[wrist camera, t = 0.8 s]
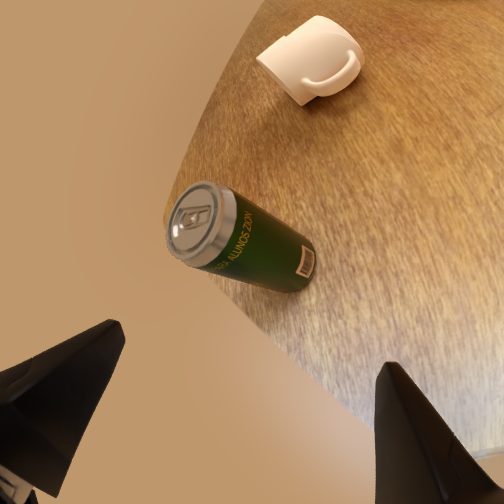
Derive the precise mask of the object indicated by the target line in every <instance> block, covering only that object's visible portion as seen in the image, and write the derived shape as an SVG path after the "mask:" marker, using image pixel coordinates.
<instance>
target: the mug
mask: <svg viewBox="0 0 504 504" xmlns="http://www.w3.org/2000/svg"><path fill="white" fill-rule="evenodd" d="M256 60H257V62H258V63H259V64H260V65H261V66H262V67H263V69H264V70H265V71H266V72H267V73H268V74H269V75H270V76H271V77H272V78H273V79H274V80H275V81H276V82H277V83H278V84H279V85H280V86H281V87H282V88H283V89H284V90H285V91H286V92H287V93H288V94H289V95H290V96H291V97H292V98H293V99H294V100H295V101H296V102H297V103H298V104H299V105H300V106H303V105H305V104H306V103H308V102H309V101H310V100H312V99H313V98H315V97H316V96H330V95H333V94H335V93H337V92H339V91H341V90H342V89H344V88H345V87H347V86H348V85H349V84H350V83H351V82H352V81H353V80H354V79H355V78H356V77H357V75H358V74H359V71H360V68H362V66H363V65H364V62H365V56H364V54H363V51H362V50H361V48H360V46H359V45H358V43H357V42H356V41H355V40H354V38H353V37H352V36H351V35H350V34H349V33H348V32H347V31H345V30H344V29H343V28H342V27H341V26H339V25H338V24H336V23H335V22H333V21H332V20H330V19H328V18H325V17H322V16H314V17H313V18H311V19H310V20H309V21H307V22H306V23H304V24H303V25H302V26H300V27H299V28H297V29H296V30H295V31H293V32H292V33H291V34H289V35H288V36H287V37H285V36H283V37H281V38H280V39H279V40H278V41H276V42H275V43H274V44H273V45H271V46H270V47H269V48H268V49H266V50H265V51H264V52H263V53H262V54H260V55H259V56H258V57H257V58H256Z"/></svg>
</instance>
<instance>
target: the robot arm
mask: <svg viewBox="0 0 504 504" xmlns="http://www.w3.org/2000/svg"><path fill="white" fill-rule="evenodd" d="M124 344H125V336H124V333H123V330H122V327H121V324H120V322H119V321H116V320H113V319H108V320H106V321H104V322H102V323H100V324H98V325H96V326H94V327H92V328H90V329H88V330H86V331H84V332H82V333H80V334H78V335H76V336H74V337H72V338H70V339H68V340H66V341H64V342H62V343H60V344H58V345H56V346H54V347H52V348H50V349H48V350H46V351H44V352H42V353H40V354H38V355H36V356H34V357H33V358H30V359H28V360H26V361H24V362H22V363H20V364H18V365H16V366H14V367H11V368H9V369H6V370H4V371H1V372H0V504H38V501H37V497H36V494H35V491H34V490H33V489H32V488H33V487H34V486H35V487H36V488H38V489H40V490H41V491H43V492H45V493H47V494H49V495H51V496H53V497H55V498H57V496H58V494H59V491H60V489H61V486H62V483H63V481H64V478H65V476H66V474H67V471H68V469H69V466H70V464H71V461H72V459H73V457H74V454H75V452H76V449H77V447H78V445H79V443H80V441H81V438H82V436H83V434H84V432H85V430H86V428H87V425H88V423H89V421H90V419H91V417H92V415H93V413H94V411H95V409H96V406H97V405H98V403H99V401H100V398H101V397H102V394H103V393H104V391H105V389H106V387H107V385H108V383H109V381H110V379H111V377H112V374H113V372H114V369H115V367H116V364H117V362H118V359H119V356H120V354H121V351H122V349H123V347H124ZM374 430H375V451H376V452H375V454H376V493H375V495H376V496H375V504H504V489H502V488H501V487H499V486H498V485H497V484H496V483H495V482H494V481H493V480H492V479H491V478H490V477H489V476H488V475H487V474H486V473H485V471H484V470H483V469H482V468H481V467H480V466H479V465H478V464H477V462H476V461H475V460H474V459H473V458H472V457H471V456H470V454H469V453H468V452H467V451H466V449H465V448H464V447H463V445H462V444H461V443H460V441H459V440H458V439H457V437H456V436H454V433H453V432H452V431H451V429H450V428H449V427H448V425H447V424H446V423H445V421H444V420H443V419H442V417H441V416H440V415H439V413H438V412H437V411H436V410H435V408H434V407H433V406H432V404H431V403H430V402H429V401H428V399H427V398H426V397H425V395H424V394H423V393H422V392H421V390H420V389H419V388H418V387H417V385H416V384H415V383H414V382H413V380H412V379H411V378H410V377H409V375H408V374H407V373H406V372H405V370H404V369H403V368H402V367H401V366H400V364H399V363H398V362H385V363H384V365H383V367H382V369H381V371H380V373H379V374H378V376H377V379H376V390H375V417H374Z"/></svg>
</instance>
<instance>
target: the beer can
mask: <svg viewBox="0 0 504 504" xmlns="http://www.w3.org/2000/svg"><path fill="white" fill-rule="evenodd" d="M166 243H167V247H168V249H169V251H170V253H171V254H172V255H173V256H174V257H175V258H177V259H180V260H182V262H184V263H185V264H186V265H187V266H190V267H193V268H197V269H200V270H203V271H207V272H210V273H214V274H217V275H220V276H224V277H227V278H231V279H234V280H238V281H241V282H245V283H249V284H252V285H256V286H259V287H263V288H267V289H270V290H274V291H278V292H283V293H290V292H295V291H297V290H299V289H300V288H302V287H304V286H305V285H306V284H307V283H308V282H309V281H310V280H311V278H312V276H313V274H314V272H315V268H316V254H315V250H314V248H313V246H312V243H311V242H310V241H309V240H308V239H307V238H306V237H304V236H303V235H301V234H300V233H298V232H297V231H295V230H294V229H292V228H291V227H289V226H288V225H286V224H285V223H283V222H282V221H280V220H279V219H277V218H276V217H274V216H273V215H271V214H269V213H268V212H266V211H265V210H263V209H262V208H260V207H259V206H257V205H256V204H254V203H252V202H251V201H249V200H248V199H246V198H245V197H243V196H241V195H240V194H238V193H237V192H235V191H233V190H232V189H230V188H229V187H227V186H224V185H221V184H215V183H213V182H210V181H206V180H204V181H199V182H196V183H194V184H193V185H191V186H189V187H188V188H187V189H186V190H185V191H184V192H183V193H182V194H181V195H180V197H179V198H178V200H177V201H176V202H175V204H174V206H173V208H172V210H171V212H170V215H169V218H168V222H167V226H166Z"/></svg>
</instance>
